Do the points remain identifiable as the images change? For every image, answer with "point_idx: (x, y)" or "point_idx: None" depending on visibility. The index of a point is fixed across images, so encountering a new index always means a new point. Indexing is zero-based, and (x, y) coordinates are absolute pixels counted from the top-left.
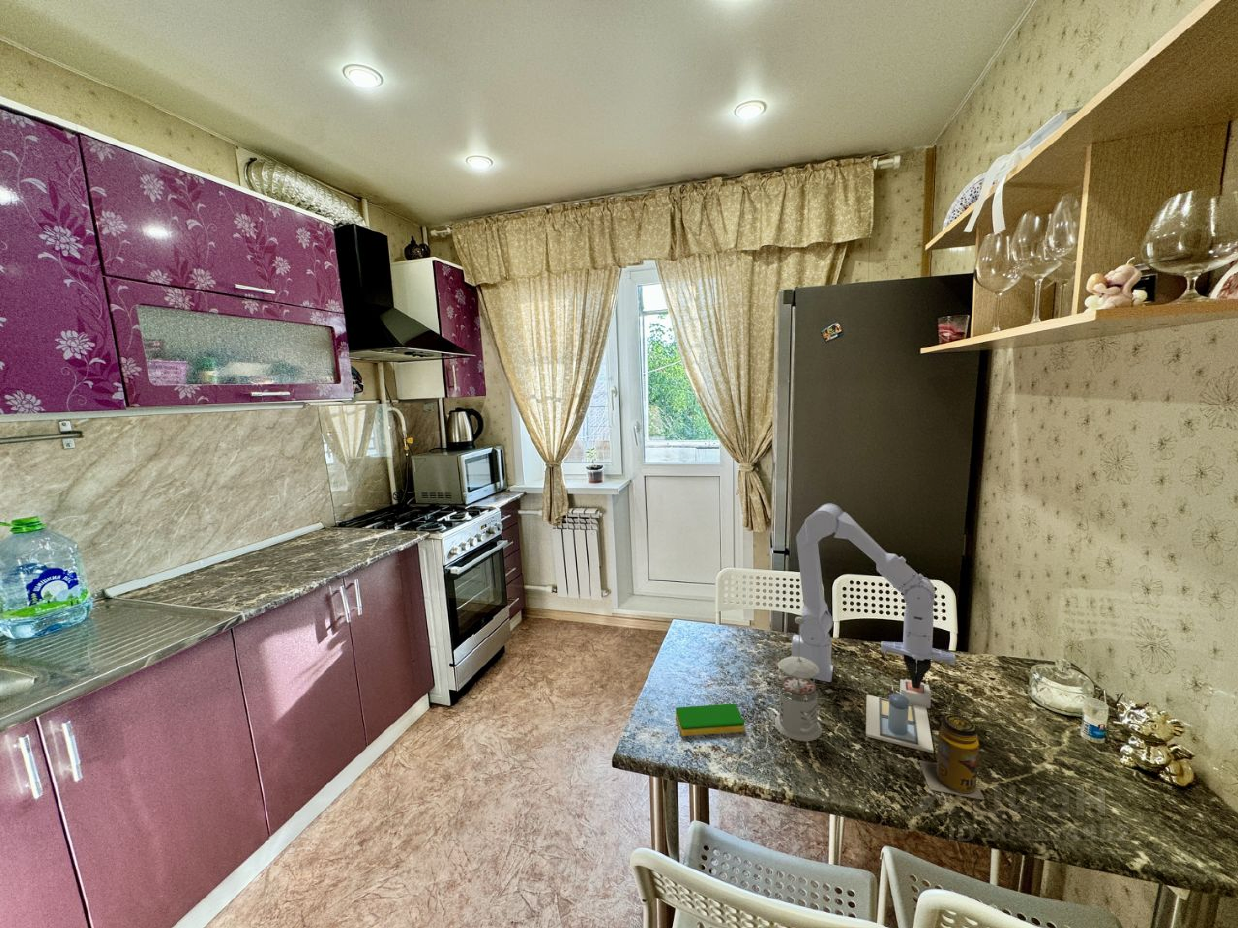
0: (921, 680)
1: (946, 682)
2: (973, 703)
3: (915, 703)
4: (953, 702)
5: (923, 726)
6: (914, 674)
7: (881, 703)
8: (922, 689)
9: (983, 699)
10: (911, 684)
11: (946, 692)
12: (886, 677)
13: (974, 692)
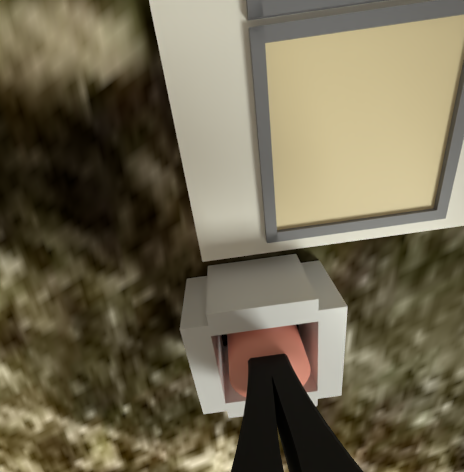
0: (244, 420)
1: (157, 455)
2: (43, 393)
3: (254, 267)
4: (108, 365)
5: (195, 28)
6: (310, 461)
7: (440, 167)
8: (230, 363)
9: (23, 429)
10: None
11: (146, 409)
12: (363, 394)
13: (62, 448)
